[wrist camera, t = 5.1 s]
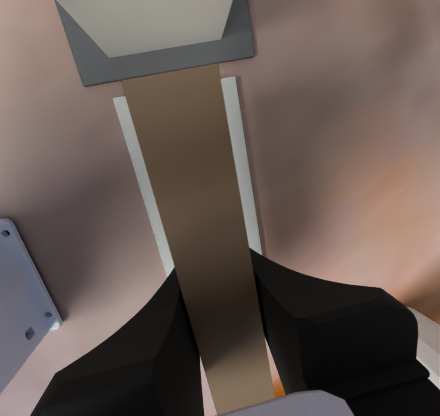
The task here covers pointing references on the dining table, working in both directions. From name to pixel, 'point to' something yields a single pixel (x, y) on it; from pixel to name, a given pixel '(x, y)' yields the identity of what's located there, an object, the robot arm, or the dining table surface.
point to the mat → (159, 51)
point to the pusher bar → (204, 225)
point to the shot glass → (428, 345)
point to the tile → (148, 23)
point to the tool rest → (240, 164)
